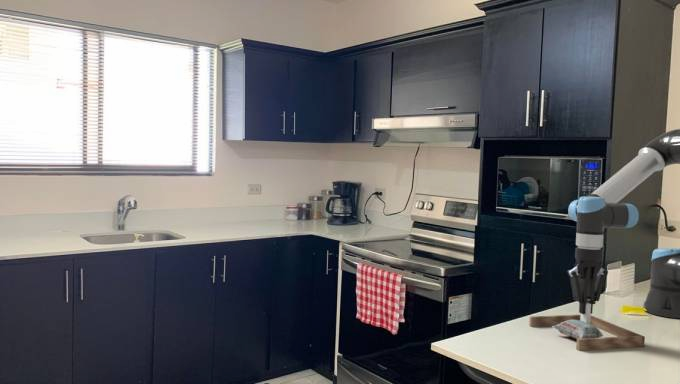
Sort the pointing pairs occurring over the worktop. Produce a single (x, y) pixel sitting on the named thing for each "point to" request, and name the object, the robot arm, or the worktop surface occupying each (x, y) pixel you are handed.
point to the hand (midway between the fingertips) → (585, 324)
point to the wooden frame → (621, 341)
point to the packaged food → (578, 329)
